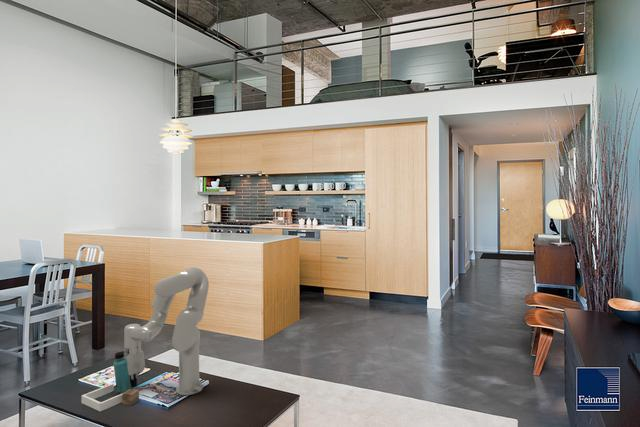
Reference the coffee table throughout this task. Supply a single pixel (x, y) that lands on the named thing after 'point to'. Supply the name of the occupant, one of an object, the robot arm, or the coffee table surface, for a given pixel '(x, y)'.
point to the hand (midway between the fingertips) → (133, 386)
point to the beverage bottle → (121, 373)
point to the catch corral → (89, 397)
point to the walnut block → (130, 397)
